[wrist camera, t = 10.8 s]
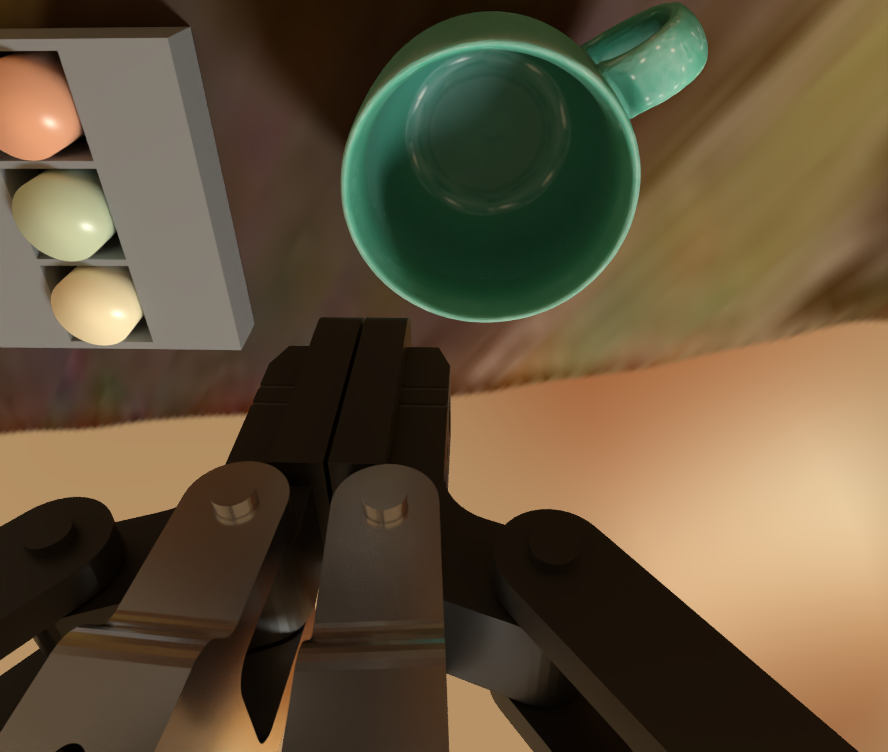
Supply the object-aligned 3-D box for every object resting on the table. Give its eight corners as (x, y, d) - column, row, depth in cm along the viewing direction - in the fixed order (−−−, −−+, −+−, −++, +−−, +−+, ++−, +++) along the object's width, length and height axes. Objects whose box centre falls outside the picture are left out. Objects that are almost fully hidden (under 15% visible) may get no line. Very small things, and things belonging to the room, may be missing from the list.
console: (-120, 29, 34) (-166, 40, 31) (190, 26, 33) (167, 37, 31) (16, 321, 44) (-11, 347, 42) (254, 324, 43) (241, 349, 41)
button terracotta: (-9, 47, 34) (-53, 62, 31) (80, 46, 34) (44, 61, 31) (27, 139, 36) (-11, 160, 34) (109, 139, 36) (77, 160, 33)
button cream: (68, 250, 40) (38, 277, 38) (143, 250, 40) (118, 277, 37) (93, 315, 43) (66, 345, 40) (163, 315, 43) (141, 345, 40)
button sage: (34, 157, 37) (-3, 180, 34) (114, 157, 37) (84, 180, 34) (63, 234, 40) (31, 261, 37) (138, 235, 40) (112, 261, 37)
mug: (446, 276, 41) (439, 365, 33) (320, 90, 35) (276, 148, 27) (713, 134, 35) (778, 203, 28) (619, -117, 29) (669, -118, 21)
